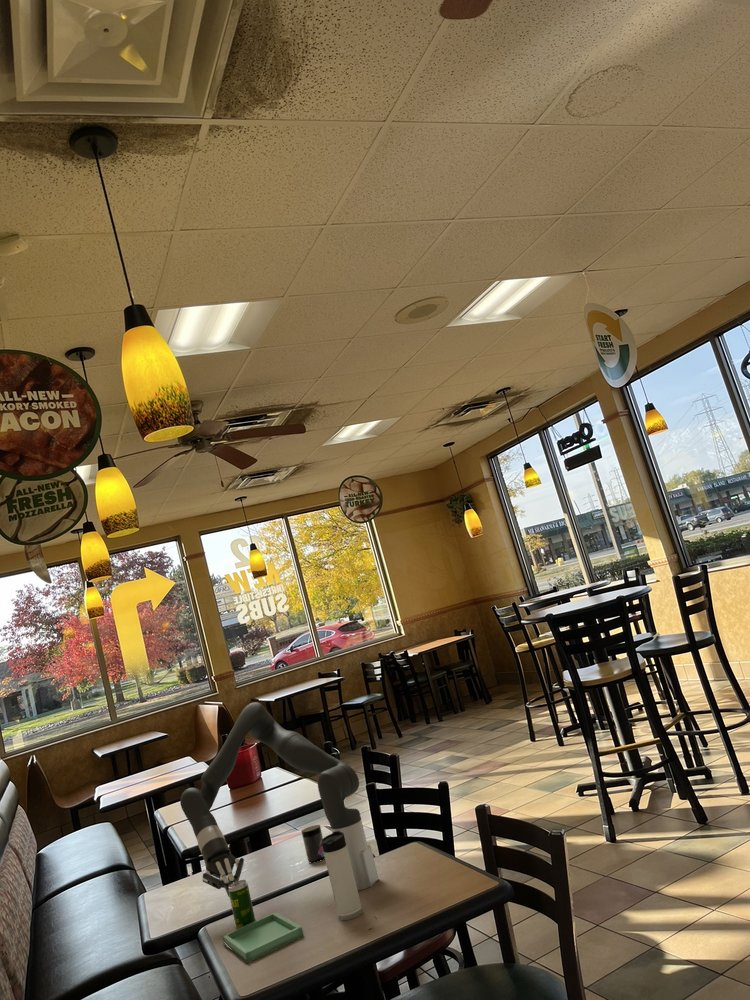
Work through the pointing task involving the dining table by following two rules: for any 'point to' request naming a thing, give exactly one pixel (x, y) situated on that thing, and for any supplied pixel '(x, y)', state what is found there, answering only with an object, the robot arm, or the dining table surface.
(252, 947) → the tray
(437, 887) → the dining table surface
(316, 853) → the supplement container
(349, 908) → the travel mug
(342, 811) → the robot arm
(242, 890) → the beer can
